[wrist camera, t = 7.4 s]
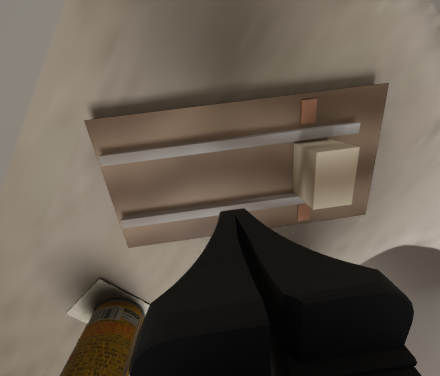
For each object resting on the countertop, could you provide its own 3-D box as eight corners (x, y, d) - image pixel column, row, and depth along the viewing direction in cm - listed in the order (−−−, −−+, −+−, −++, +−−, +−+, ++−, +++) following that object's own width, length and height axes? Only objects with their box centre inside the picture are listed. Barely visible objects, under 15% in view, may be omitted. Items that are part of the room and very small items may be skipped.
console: (355, 207, 22) (371, 218, 20) (133, 238, 22) (125, 253, 19) (374, 84, 18) (397, 81, 16) (93, 119, 17) (78, 121, 15)
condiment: (126, 340, 27) (74, 500, 16) (66, 312, 25) (-46, 480, 14) (161, 309, 26) (129, 464, 15) (101, 276, 23) (6, 434, 12)
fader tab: (324, 186, 19) (351, 204, 16) (292, 190, 19) (312, 209, 16) (328, 138, 17) (359, 146, 14) (293, 143, 17) (316, 152, 14)
